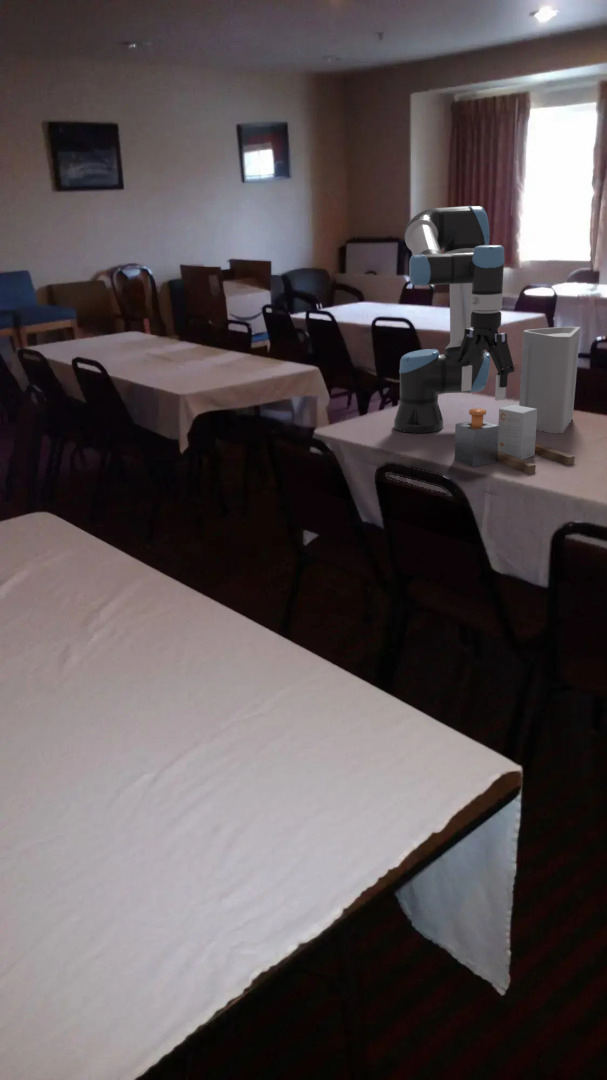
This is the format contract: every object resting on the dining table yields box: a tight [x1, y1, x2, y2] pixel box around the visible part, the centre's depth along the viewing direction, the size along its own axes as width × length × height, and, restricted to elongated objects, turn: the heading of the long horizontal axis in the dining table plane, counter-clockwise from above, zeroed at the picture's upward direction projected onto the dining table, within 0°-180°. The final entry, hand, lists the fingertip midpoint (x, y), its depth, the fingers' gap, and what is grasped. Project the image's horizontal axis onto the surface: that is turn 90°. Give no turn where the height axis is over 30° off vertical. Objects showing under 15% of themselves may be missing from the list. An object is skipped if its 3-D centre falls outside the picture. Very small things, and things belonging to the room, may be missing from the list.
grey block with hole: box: [454, 420, 499, 468], centre depth 214 cm, size 8×8×10 cm
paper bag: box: [518, 326, 581, 434], centre depth 242 cm, size 19×15×28 cm
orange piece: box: [468, 408, 487, 427], centre depth 212 cm, size 4×4×7 cm
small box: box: [497, 404, 537, 460], centre depth 216 cm, size 8×6×13 cm
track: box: [497, 442, 575, 474], centre depth 215 cm, size 20×15×2 cm
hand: (482, 395), depth 209 cm, fingers open, 13 cm apart
